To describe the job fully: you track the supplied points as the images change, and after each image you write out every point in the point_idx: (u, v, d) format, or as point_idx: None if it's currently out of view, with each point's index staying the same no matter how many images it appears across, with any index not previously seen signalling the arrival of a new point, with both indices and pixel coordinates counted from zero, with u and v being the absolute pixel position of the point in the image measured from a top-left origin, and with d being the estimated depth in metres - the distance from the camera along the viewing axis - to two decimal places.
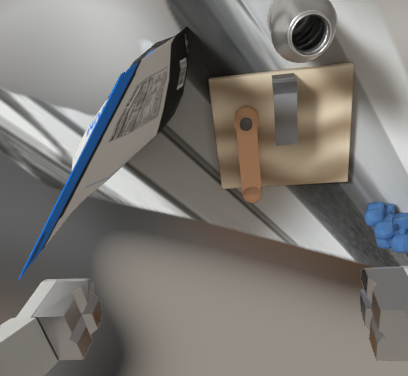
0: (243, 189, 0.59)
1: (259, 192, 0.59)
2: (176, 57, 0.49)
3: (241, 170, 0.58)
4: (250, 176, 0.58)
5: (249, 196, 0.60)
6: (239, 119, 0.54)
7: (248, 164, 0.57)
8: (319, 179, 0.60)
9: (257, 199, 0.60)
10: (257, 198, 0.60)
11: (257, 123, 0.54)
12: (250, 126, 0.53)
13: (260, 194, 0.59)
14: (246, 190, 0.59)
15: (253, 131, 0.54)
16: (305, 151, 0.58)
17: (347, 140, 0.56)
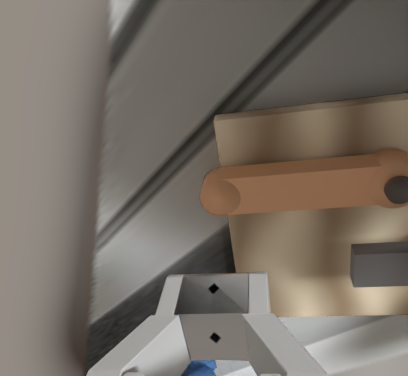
0: (232, 181, 0.27)
1: (226, 211, 0.28)
2: None
3: (280, 177, 0.26)
4: (264, 194, 0.27)
5: (215, 193, 0.27)
6: (407, 172, 0.25)
7: (295, 190, 0.26)
8: None
9: (208, 208, 0.28)
10: (211, 208, 0.28)
11: (391, 206, 0.26)
12: (396, 200, 0.25)
13: (221, 213, 0.28)
14: (231, 188, 0.27)
15: (373, 199, 0.26)
16: (300, 263, 0.32)
17: (316, 313, 0.35)
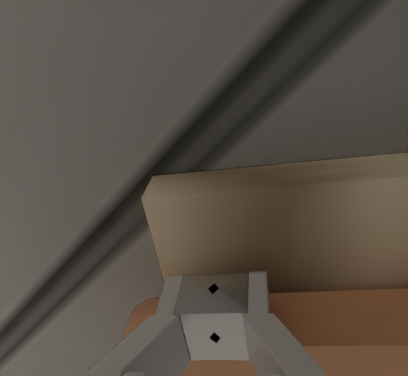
0: None
1: None
2: None
3: None
4: None
5: None
6: None
7: None
8: None
9: None
10: None
11: None
12: None
13: None
14: None
15: None
16: None
17: None
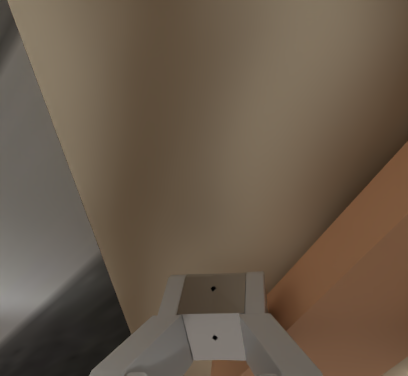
0: None
1: None
2: None
3: (301, 326, 0.10)
4: None
5: None
6: None
7: (360, 324, 0.09)
8: None
9: None
10: None
11: None
12: None
13: None
14: None
15: None
16: None
17: None
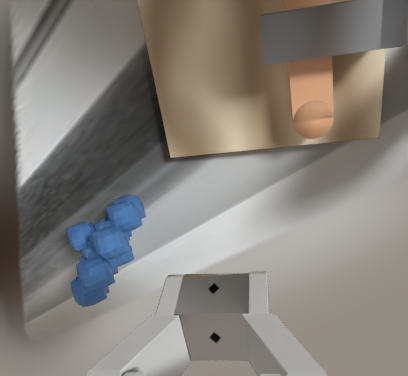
0: (295, 109, 0.28)
1: (329, 113, 0.28)
2: None
3: (291, 63, 0.27)
4: (310, 77, 0.27)
5: (307, 124, 0.29)
6: None
7: None
8: (168, 111, 0.32)
9: (324, 130, 0.29)
10: (324, 128, 0.29)
11: None
12: None
13: (331, 118, 0.28)
14: (302, 110, 0.28)
15: None
16: (223, 78, 0.30)
17: (246, 147, 0.33)
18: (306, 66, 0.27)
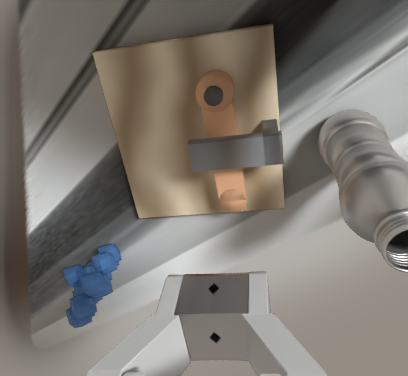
0: (220, 193, 0.41)
1: (243, 197, 0.41)
2: None
3: None
4: (228, 174, 0.40)
5: (229, 203, 0.42)
6: (203, 89, 0.36)
7: None
8: (135, 188, 0.45)
9: (241, 207, 0.42)
10: (241, 205, 0.41)
11: (230, 93, 0.35)
12: (211, 103, 0.35)
13: (244, 199, 0.41)
14: (224, 194, 0.41)
15: (226, 106, 0.36)
16: (172, 168, 0.43)
17: (192, 212, 0.46)
18: None
